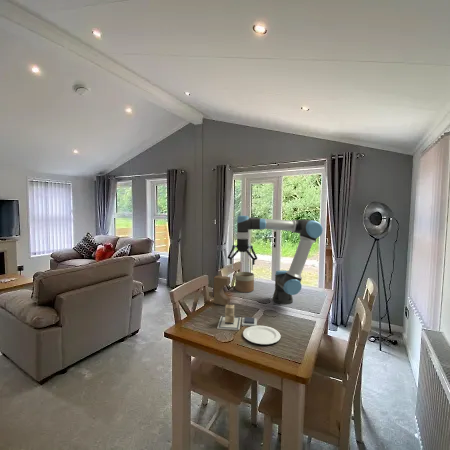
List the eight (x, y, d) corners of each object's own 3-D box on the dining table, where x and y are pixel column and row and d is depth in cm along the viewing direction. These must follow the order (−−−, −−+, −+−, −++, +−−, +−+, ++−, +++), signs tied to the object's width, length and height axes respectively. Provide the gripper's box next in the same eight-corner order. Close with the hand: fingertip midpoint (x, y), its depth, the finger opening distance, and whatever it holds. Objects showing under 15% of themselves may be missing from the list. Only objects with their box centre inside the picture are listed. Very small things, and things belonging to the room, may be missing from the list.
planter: (248, 294, 214) (248, 277, 212) (231, 290, 222) (231, 274, 221) (256, 289, 227) (257, 273, 226) (240, 285, 235) (241, 270, 234)
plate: (254, 350, 132) (254, 347, 132) (236, 331, 151) (236, 329, 151) (288, 342, 141) (288, 339, 140) (267, 325, 160) (267, 322, 159)
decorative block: (230, 303, 193) (230, 277, 191) (226, 306, 188) (227, 279, 186) (217, 301, 198) (217, 275, 196) (213, 303, 193) (213, 276, 191)
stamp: (234, 320, 163) (234, 305, 162) (233, 324, 158) (233, 308, 157) (226, 320, 164) (226, 304, 163) (225, 323, 159) (225, 307, 158)
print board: (241, 318, 168) (241, 316, 168) (239, 330, 152) (239, 328, 152) (220, 317, 170) (220, 315, 170) (217, 328, 154) (217, 327, 154)
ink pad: (256, 320, 166) (256, 316, 166) (256, 326, 157) (256, 323, 157) (242, 319, 167) (242, 315, 167) (241, 325, 158) (241, 322, 158)
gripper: (261, 238, 180) (260, 268, 182) (225, 237, 183) (224, 267, 185) (261, 239, 173) (260, 271, 174) (223, 238, 176) (223, 269, 177)
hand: (242, 269), depth 180 cm, fingers open, 13 cm apart
